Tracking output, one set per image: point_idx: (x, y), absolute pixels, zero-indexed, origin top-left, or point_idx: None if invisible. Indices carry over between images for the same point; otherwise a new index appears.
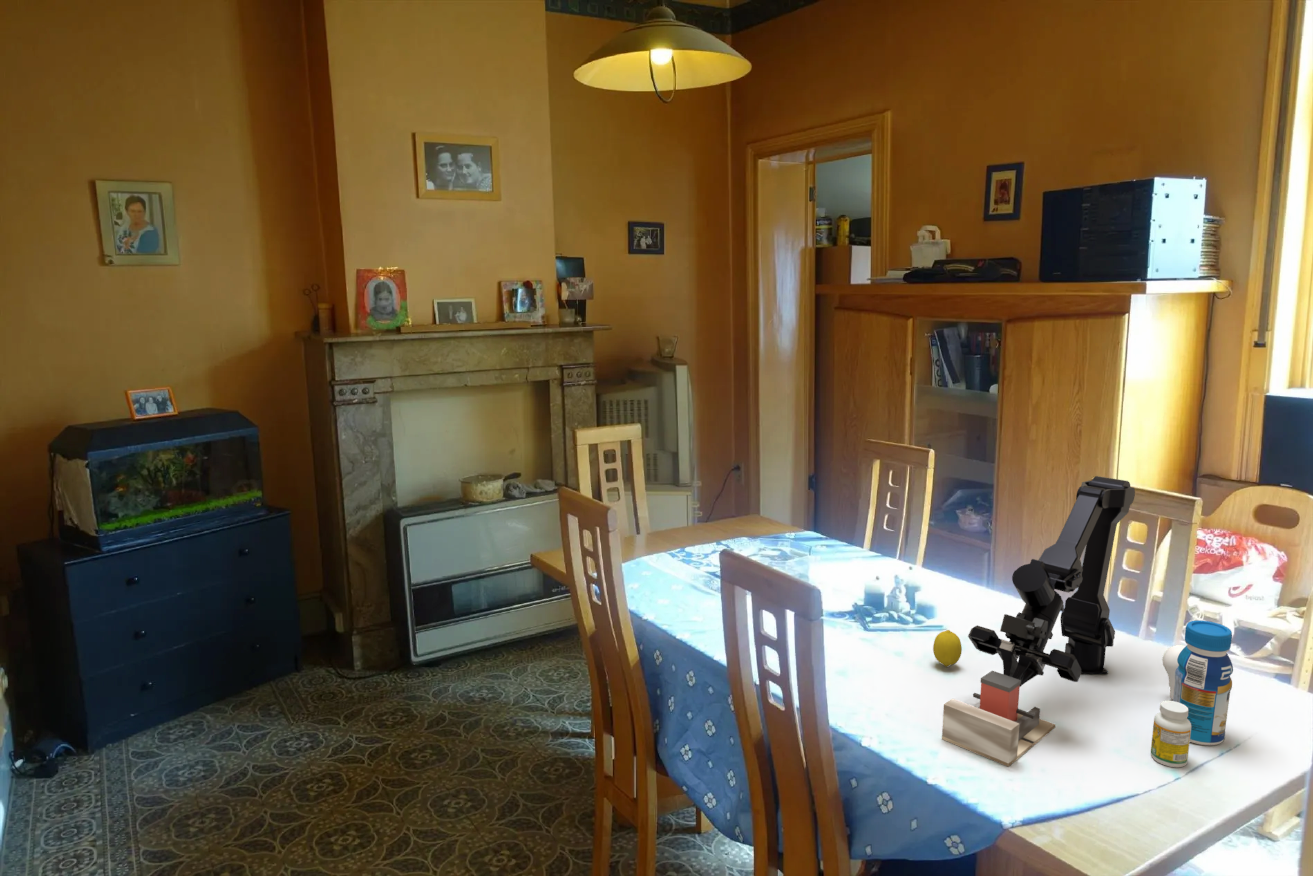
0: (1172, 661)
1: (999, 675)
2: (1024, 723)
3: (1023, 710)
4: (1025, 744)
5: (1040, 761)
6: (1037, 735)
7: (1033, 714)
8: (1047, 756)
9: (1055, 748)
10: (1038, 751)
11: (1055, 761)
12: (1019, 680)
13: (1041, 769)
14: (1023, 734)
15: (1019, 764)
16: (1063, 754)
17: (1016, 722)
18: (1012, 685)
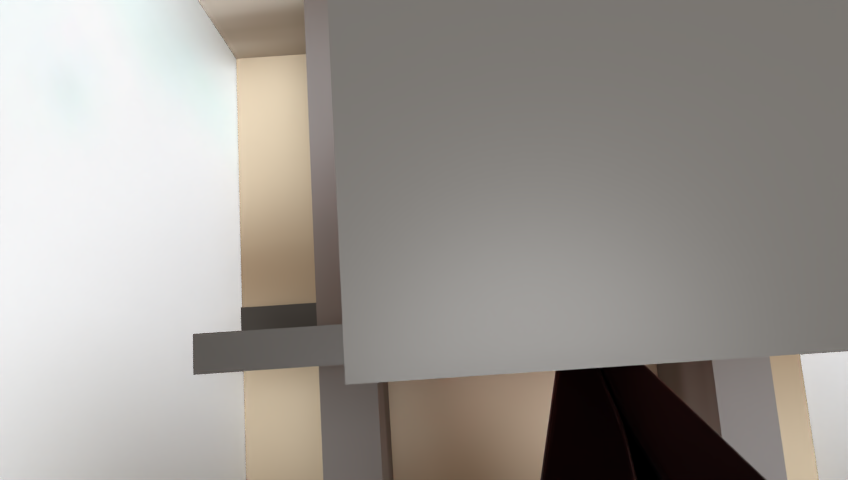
0: None
1: (792, 234)
2: None
3: (327, 362)
4: (272, 253)
5: (124, 176)
6: (273, 457)
7: (209, 367)
8: (117, 274)
9: (122, 427)
10: (192, 288)
11: (49, 255)
12: (358, 342)
13: (76, 90)
14: None
15: (206, 37)
16: (45, 391)
17: None
18: (344, 16)
